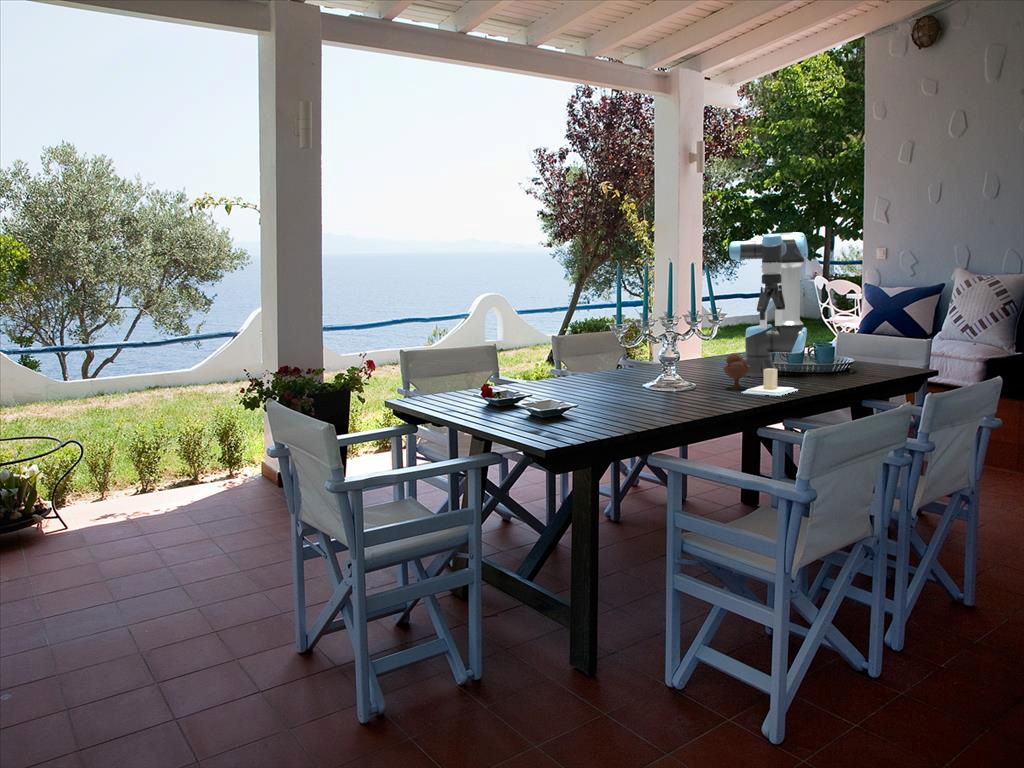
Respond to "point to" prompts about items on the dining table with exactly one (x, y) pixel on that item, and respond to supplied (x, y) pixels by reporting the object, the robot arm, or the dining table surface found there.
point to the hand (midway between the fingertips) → (771, 327)
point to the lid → (770, 384)
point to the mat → (769, 394)
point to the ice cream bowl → (736, 369)
